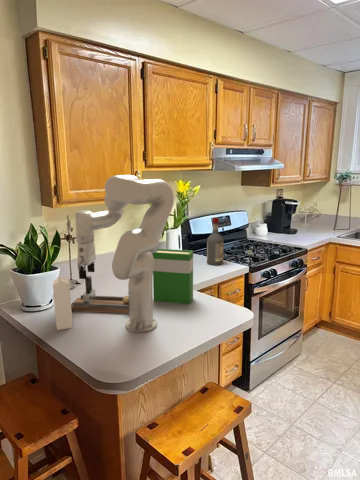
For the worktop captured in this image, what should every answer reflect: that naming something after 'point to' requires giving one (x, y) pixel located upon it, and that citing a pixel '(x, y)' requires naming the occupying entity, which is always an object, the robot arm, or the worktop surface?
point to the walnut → (126, 300)
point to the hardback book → (173, 276)
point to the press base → (101, 305)
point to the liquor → (215, 246)
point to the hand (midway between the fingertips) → (87, 275)
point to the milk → (62, 303)
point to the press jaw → (89, 291)
